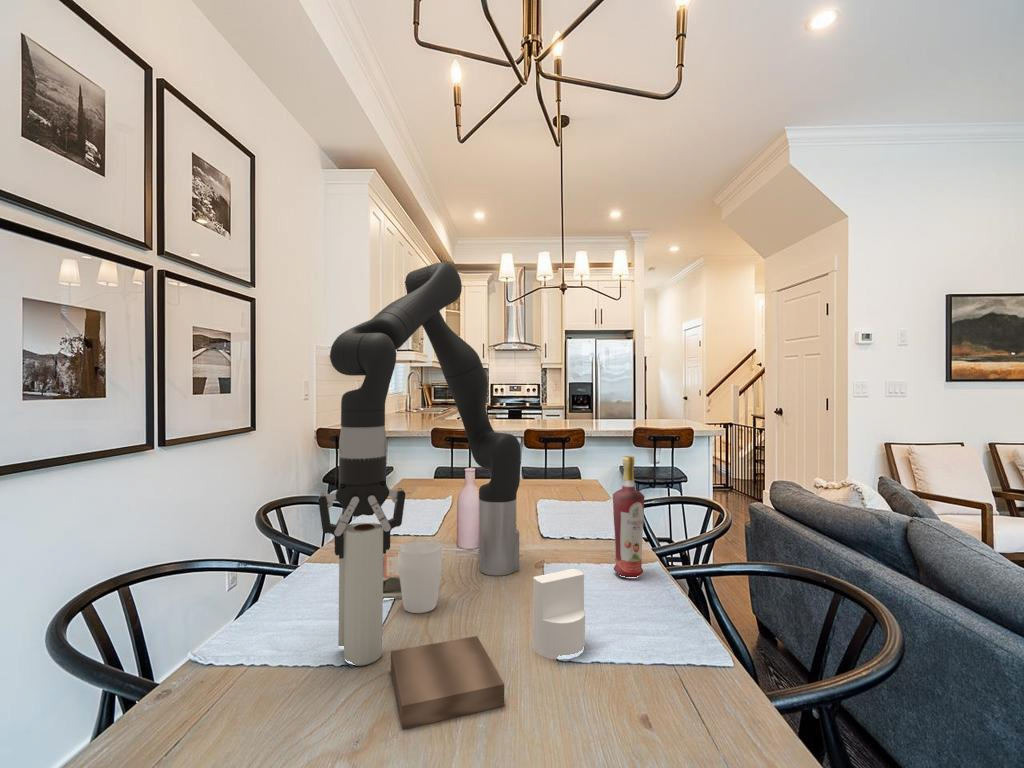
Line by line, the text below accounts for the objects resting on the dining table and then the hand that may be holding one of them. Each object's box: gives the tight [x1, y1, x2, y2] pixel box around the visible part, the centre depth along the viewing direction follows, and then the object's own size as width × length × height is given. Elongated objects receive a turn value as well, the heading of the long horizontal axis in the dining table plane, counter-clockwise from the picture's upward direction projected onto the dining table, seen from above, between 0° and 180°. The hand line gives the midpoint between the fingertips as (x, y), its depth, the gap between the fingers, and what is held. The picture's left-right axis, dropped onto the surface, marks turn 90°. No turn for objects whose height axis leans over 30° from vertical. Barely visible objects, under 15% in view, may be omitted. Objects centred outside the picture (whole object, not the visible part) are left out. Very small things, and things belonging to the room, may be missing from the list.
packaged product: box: [383, 552, 403, 601], centre depth 111 cm, size 18×5×10 cm
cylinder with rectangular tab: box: [532, 568, 586, 660], centre depth 84 cm, size 9×9×12 cm
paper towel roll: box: [337, 522, 384, 667], centre depth 81 cm, size 7×6×21 cm
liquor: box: [612, 455, 645, 577], centre depth 116 cm, size 7×7×28 cm
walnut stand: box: [390, 635, 505, 730], centre depth 72 cm, size 14×14×3 cm
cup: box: [397, 539, 444, 614], centre depth 99 cm, size 9×9×12 cm
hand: (362, 554), depth 81 cm, fingers closed on paper towel roll, 6 cm apart
